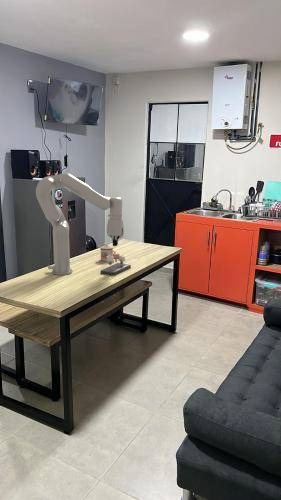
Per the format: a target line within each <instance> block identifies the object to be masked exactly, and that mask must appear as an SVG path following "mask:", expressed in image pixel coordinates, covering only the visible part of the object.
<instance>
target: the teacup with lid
mask: <svg viewBox="0 0 281 500" xmlns="http://www.w3.org/2000/svg"><path fill="white" fill-rule="evenodd" d="M114 253H117V252H116V251H115V250H114V246H113V245H109V244H108V243H105V244H104V245H103V246H100V261H102V262H108V261H107V256H113V254H114Z"/></svg>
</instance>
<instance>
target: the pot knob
mask: <svg viewBox="0 0 281 500" xmlns="http://www.w3.org/2000/svg"><path fill="white" fill-rule="evenodd" d="M113 256H114V262H115V263H118V259H119V256H120V253H119V252H116V253H114V252H113Z"/></svg>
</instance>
